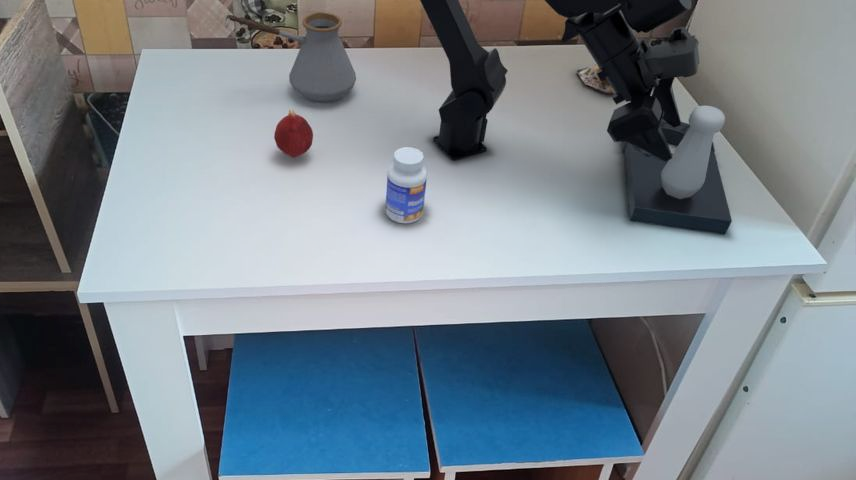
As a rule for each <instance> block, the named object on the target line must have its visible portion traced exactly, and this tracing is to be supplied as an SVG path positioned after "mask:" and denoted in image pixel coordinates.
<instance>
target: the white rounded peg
mask: <svg viewBox="0 0 856 480" xmlns="http://www.w3.org/2000/svg"><path fill="white" fill-rule="evenodd" d="M725 121H726V117H725V114H724V111H722V110H721V109H719V108H717V107H715V106H711V105H699V106H697V107H695V108H693V110H692V111H691V113H690V114H689V116H688V124H689V125H690V128H689V130H688V131H687V133H686V134H685V136H684V137H683V139H682V140H681V142H680V144H679V145H678V146H676V149H675V150H674V151H673V152H672V153H673V154H672V159H670V160H669V161H668V162H667V164H666V165H665V167H664V169H663V170H662V172H661V179H662V187H663V188H664V190H665V192H666V193H667V194H668V195H670V196H673V197H676V198H678V199H682V198H688V197H691V196H692V195H693V194H695V193H696V192H697V191H698V190H699V189H700V188H701V187H702V185H703V183H704V182H705V177H706V172H707V167H708V161H709V156H710V151H711V146H712V142H713V140H714V135H715V134H717V133H719V132H720V131H721V130H722V128H723V126H724V124H725Z"/></svg>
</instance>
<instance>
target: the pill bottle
mask: <svg viewBox="0 0 856 480" xmlns="http://www.w3.org/2000/svg"><path fill="white" fill-rule="evenodd" d="M424 157H425V156H424V153H423V152H422V150H419V149H418V148H415V147H412V146H411V147H410V146H406V147H400V148H398V149H396V151H394V154H393V159H392V164H390V166H389V167H388V170H387V175H386V194H385V205H384V206H385V208H384V209H385V213H386V216H387V217H388V218H389V219H390V220H392V221H394V222H395V223H399V224H412V223H415V222H416V221H418V220H420V219H421V218H422V216H423V214H424V208H425V198H426V189H427V180H428V172H427V171H428V170H427V169H426V167H425V166H424V163H425V162H424V159H425V158H424Z"/></svg>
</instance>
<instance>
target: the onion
mask: <svg viewBox="0 0 856 480" xmlns="http://www.w3.org/2000/svg"><path fill="white" fill-rule="evenodd" d="M273 139H274V141H275V144H276V147H277V148H278V149H279V151H281V152H282V153H283V154H284V155H286V156H288V157H291V158H297V157H300V156H302V155H304V154H306V153H307V152H308V151H309V150H310V149H311V147H312V145H313V140H314V131H313V128H312V127H311V125H310V124H309V122H308V120H307V119H306V118H304V117H303V116H302V115H299V114H297V113H296V112H295V111H294V110H293V109H289V110H288V114H287V115H285V116H284V117H283V118H281V119H280V120H279V121H278V123H277V124H276V127H275V130H274V135H273Z"/></svg>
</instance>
